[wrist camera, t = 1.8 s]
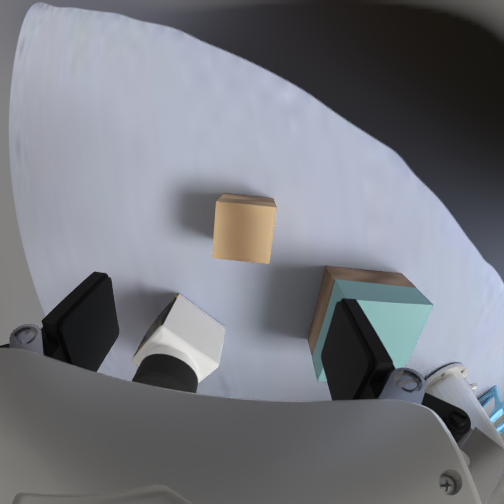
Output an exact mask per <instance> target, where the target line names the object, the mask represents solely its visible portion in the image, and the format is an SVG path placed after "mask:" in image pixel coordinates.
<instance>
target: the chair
mask: <svg viewBox="0 0 504 504" xmlns="http://www.w3.org/2000/svg"><path fill="white" fill-rule="evenodd" d="M488 396H489V397H488ZM487 397H488V399H487V400H486V401H485V402H484V403H483V404H482V407H483V408H484V407H485V406H486V405H487V404H488V402H489V401H490V400H491V399H492V398H493V397H495V408H494V410H493V412H492V413H491V414H490V416H489V418H490V420H491V422H492V423H494V422H495V421H496V420H497V419H498V418H499V417H500V416H501V415H502V414H503V413H504V402H503V403H502V402H501V398H500V393H499V390H498V388H497V386H496V385H495V386H494V387H493V388H492V389H491V390H490V391H489V392H487V393H486V394H485V395H484V396H482V397H481V398H480V399H479V400H478V401H479V403H481V402H482V401H483V400H484V399H486V398H487ZM494 427H495V426H494ZM495 428H496V430H497V431H498V433H499V434H501V433H502V432H503V431H504V420H503V422H502V423H501V424H499V425H498V426H496V427H495Z"/></svg>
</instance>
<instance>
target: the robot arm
mask: <svg viewBox="0 0 504 504" xmlns="http://www.w3.org/2000/svg"><path fill="white" fill-rule="evenodd" d="M42 324H43V327H42V329H40V328H39V327H38V326H36V325H34V324H25V325H21V326H19V327H18V328H16V329H15V330H14V331H13V332H12V333H11V335H10V343H9V344H5V345H1V346H0V504H504V441H503V440H502V438H501V436H500V435H499V433H498V431H497V430H496V428H495V427H494V425H493V423H492V422H491V420H490V418H489V417H488V415H487V414H486V412H485V410H484V409H483V407H482V406H481V404H480V403H479V401H478V400H477V398H476V397H475V393H474V391H473V390H475V389H476V387H477V385H476V384H475V383H473V384H469V383H468V382H467V380H466V378H467V369H466V368H465V366H464V365H463V364H460V363H455V364H451V365H448V366H446V367H444V368H442V369H440V370H438V371H437V372H435V373H434V374H433V375H431V376H430V377H429V378H428V379H426V380H425V379H424V378H423V376H422V375H421V374H419V373H418V372H417V371H415V370H413V369H410V368H403V367H402V368H397V369H396V368H395V366H394V365H393V361H392V359H391V357H390V355H389V353H388V352H387V350H386V348H385V347H384V345H383V343H382V341H381V340H380V338H379V336H378V335H377V333H376V331H375V329H374V328H373V326H372V324H371V323H370V321H369V319H368V318H367V316H366V315H365V313H364V311H363V310H362V308H361V306H360V305H359V303H358V302H357V300H356V299H348V298H342V299H341V301H338V302H337V303H336V305H335V309H334V312H333V316H332V319H331V323H330V326H329V329H328V333H327V336H326V339H325V342H324V346H323V349H322V352H321V361H322V365H323V368H324V372H325V375H326V379H327V382H328V386H329V390H330V393H331V397H332V401H274V400H255V399H242V398H231V397H221V396H212V395H204V394H197V393H190V392H184V391H178V390H172V389H166V388H161V387H156V386H151V385H146V384H141V383H137V382H132V381H128V380H124V379H120V378H116V377H112V376H108V375H104V374H101V373H97V370H98V369H99V367H100V365H101V364H102V362H103V360H104V359H105V357H106V355H107V354H108V352H109V350H110V349H111V347H112V346H113V344H114V342H115V341H116V339H117V338H118V335H119V327H118V321H117V315H116V309H115V303H114V296H113V288H112V281H111V278H110V277H108V275H107V274H106V273H100V272H93V273H92V274H91V275H90V276H89V277H87V278H86V279H85V280H84V281H83V282H82V283H81V284H80V285H79V286H77V287H76V288H75V289H74V290H73V291H72V292H71V293H70V294H69V295H68V296H67V297H66V298H65V299H64V300H62V301H61V302H60V303H59V304H58V305H57V306H56V307H55V308H54V309H53V310H52V311H51V312H50V313H49V314H48V315H47V316H46V317H45V318H44V319H43V320H42Z"/></svg>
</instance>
